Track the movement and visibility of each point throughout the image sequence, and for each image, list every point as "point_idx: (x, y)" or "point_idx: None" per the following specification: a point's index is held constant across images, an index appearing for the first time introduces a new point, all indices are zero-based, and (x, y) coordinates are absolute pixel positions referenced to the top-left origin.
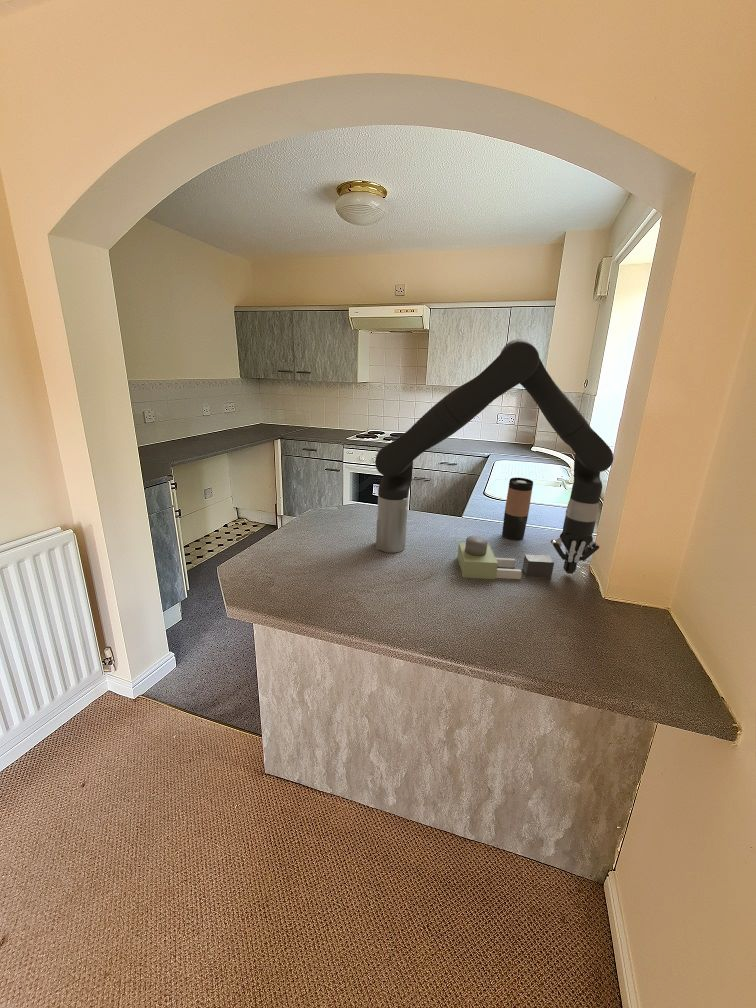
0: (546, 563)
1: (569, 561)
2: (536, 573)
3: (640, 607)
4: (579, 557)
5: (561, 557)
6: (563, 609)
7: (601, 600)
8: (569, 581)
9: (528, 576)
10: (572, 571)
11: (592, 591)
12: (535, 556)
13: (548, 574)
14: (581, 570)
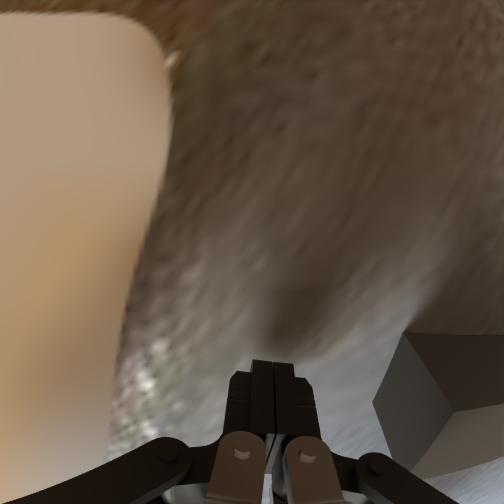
0: (489, 398)
1: (314, 442)
2: (485, 348)
3: (33, 2)
4: (213, 477)
5: (401, 468)
6: (493, 4)
7: (208, 23)
8: (305, 291)
9: (500, 336)
10: (260, 370)
11: (202, 140)
12: (486, 453)
13: (430, 347)
14: (145, 401)
